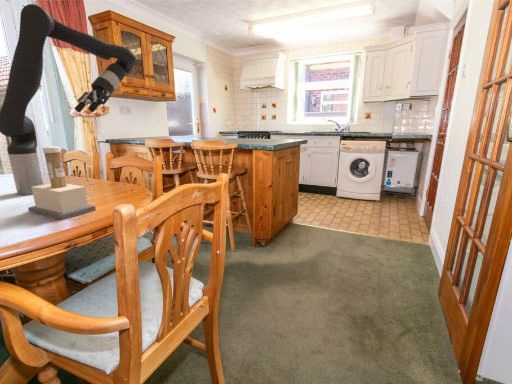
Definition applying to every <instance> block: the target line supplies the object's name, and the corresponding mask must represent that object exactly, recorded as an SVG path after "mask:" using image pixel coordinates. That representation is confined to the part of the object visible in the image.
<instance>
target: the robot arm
mask: <svg viewBox="0 0 512 384" xmlns="http://www.w3.org/2000/svg"><path fill="white" fill-rule="evenodd" d="M19 18H20V19H19V32H18V33H19V34H18V41H17V42H16V43H17V44H16V46H15V49H14V53H13V58H12V61H11V64H10V65H11V66H10V68H9V74H8V81H7V85H6V90H5V95H4V99H3V102H2V105H1V108H0V133H1V134H2V135H3V136H5V137H8V138H10V144H9V145H8V146H7V148H6V151H7V155H8V159H9V163H10V167H11V171H12V176H13V180H14V184H15V189H16V193H17V195H19V196H26V195H33V192H32V187H33V186H38V185H44V180H43V177H42V176H43V175H42V171H41V166H40V160H39V156H38V151H37V149H38V148H37V147H38V139H37V138H38V137H37V133H36V128H35V127H36V126H35V124H34V122H33V120H32V119H31V118H30V117H29V116H27V115H26V112H27V108H28V105H29V103H30V102H31V101H32V99H33V98H34V96H35V95H36V93H37V92H38V90H39V88H40V85H41V81H42V78H43V69H44V55H43V53H44V47H45V46H44V45H45V43H46V40H47V38H50V39H54V40H58V41H60V42H63V43H66V44H69V45H71V46H73V47H75V48H78V49H80V50H82V51H83V52H86V53H89V54H90V55H93V56H95V57H98V58H100V59H102V60H105V61H109V60H111V58H112V59H116V61H114V62H112V63H111V64H109V65H108V66H107V67H106V68H105V69H104V70H103V71H102V72H101V73H100V74H99V75H97V78H95V79H94V80H93V82H92V83H91V86H90V87H91V89H92V90H90V91H89V92H88V91H84V92H83V94H82V95H81V96H80V97H79V98H78V99H77V100H76V102H78V104H77V105H76V106H75V107H74V110H75V111H76V113H81V112H82V110H83V109H85V107H86V106H88V107H87V110H89V111H90V112H91V113H94V112H95V111H96V109H98V108H99V107H101V106H104V105H105V104H106V103H107V101H108V100H109V99H110V98H111V97H112V94H113V93H114V92H115V91H116V90H117V88H118V87H119V85H120V84H121V82H122V81H123V80H124V78H125V77H126V76H127V75H130V73H131V72H132V70H133V69H134V66H135V63H136V61H137V56H136V54H135V53H134V51H132V49H130V48H128V47H125V46H121V45H119V44H111V43H109V42H106V40H102V39H100V38H99V37H98V38H97V37H96V36H94V35H92V34H88V33H85V32H82V31H80V30H77V29H74V28H72V27H70V26H68V25H65V24H64V23H62V22H60V21H59V20H56V19H55V18H54V17H52V16H51V15H50V14H49V13H48V12H47V11H46V9H44V8H43V7H42V6H40V5H38V4H35V3H29V4H26V5H25V6H24V7H22V9H21V11H20V17H19Z"/></svg>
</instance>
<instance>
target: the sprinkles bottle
mask: <svg viewBox="0 0 512 384" xmlns="http://www.w3.org/2000/svg"><path fill="white" fill-rule="evenodd" d="M42 152H43V154H44V157H45V158H44V159H45V165H46V169H47V173H48V177H49V181H50V183H51V187H53V188H59V187H64V186H66V185H67V184H68V183H67V180H66V173H65V169H64V168H65V167H64V164H63V160H62V153H61V147H60V146H56V145H54V146H52V145H51V146H44V147H42Z"/></svg>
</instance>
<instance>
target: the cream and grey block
mask: <svg viewBox="0 0 512 384" xmlns="http://www.w3.org/2000/svg"><path fill="white" fill-rule="evenodd" d="M32 192H33V194H32V196H33V200H34V206H33V205H32V206H29V207H28V208H27V209H28V212H29V213H33V214H37V215H41V216H45V217H49V218H52V219H56V220H60V221H64V220H68V219H71V218H75V217H76V216H78V217H79V216H81V215H85V214H87V213H92V212H94V211H96V210H97V209H96V206H95V205H91V204H88V203H89V202H88V197H87V191H86V187H85V186H83V185H76V184H70V183H67V185H66V186H64V187H59V188H53V187H51V182H50V183H45V184H44V183H43V185H38V186H33V187H32Z"/></svg>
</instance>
